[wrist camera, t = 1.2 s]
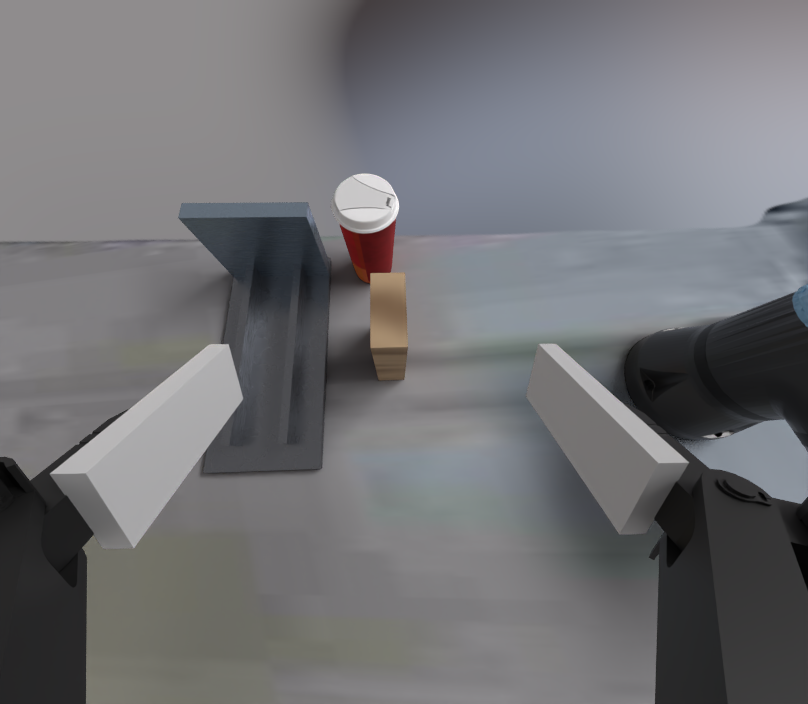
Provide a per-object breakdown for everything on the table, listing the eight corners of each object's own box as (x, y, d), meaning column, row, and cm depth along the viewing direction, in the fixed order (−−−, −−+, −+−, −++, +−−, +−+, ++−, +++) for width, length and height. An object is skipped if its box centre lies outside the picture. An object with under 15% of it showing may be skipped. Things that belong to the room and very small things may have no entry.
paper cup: (403, 252, 48) (405, 177, 35) (391, 294, 46) (390, 231, 32) (355, 242, 48) (339, 164, 35) (341, 284, 46) (319, 216, 33)
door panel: (404, 379, 42) (407, 346, 29) (378, 380, 42) (370, 347, 28) (402, 325, 44) (404, 272, 31) (378, 326, 44) (370, 273, 31)
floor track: (321, 468, 38) (286, 477, 26) (207, 472, 38) (115, 483, 25) (331, 261, 47) (308, 195, 35) (239, 263, 47) (183, 196, 34)
